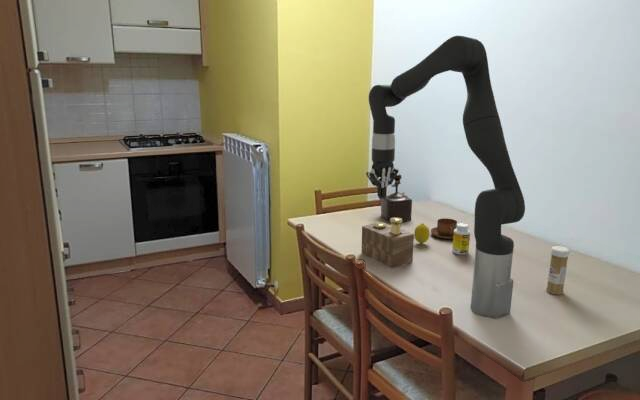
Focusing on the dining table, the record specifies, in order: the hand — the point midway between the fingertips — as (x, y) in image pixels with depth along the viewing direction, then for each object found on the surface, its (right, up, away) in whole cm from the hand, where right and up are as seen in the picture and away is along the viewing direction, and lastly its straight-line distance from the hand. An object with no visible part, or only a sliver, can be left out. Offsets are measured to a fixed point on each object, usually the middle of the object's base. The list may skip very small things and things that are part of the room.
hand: (381, 197), depth 166 cm
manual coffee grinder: (+12, -8, +50) cm, 52 cm away
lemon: (+17, -17, +16) cm, 29 cm away
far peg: (0, -19, +6) cm, 19 cm away
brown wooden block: (+2, -20, +3) cm, 21 cm away
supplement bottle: (+29, -19, +8) cm, 36 cm away
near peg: (+4, -17, -2) cm, 17 cm away
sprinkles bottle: (+47, -28, -23) cm, 60 cm away
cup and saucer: (+28, -15, +25) cm, 41 cm away
